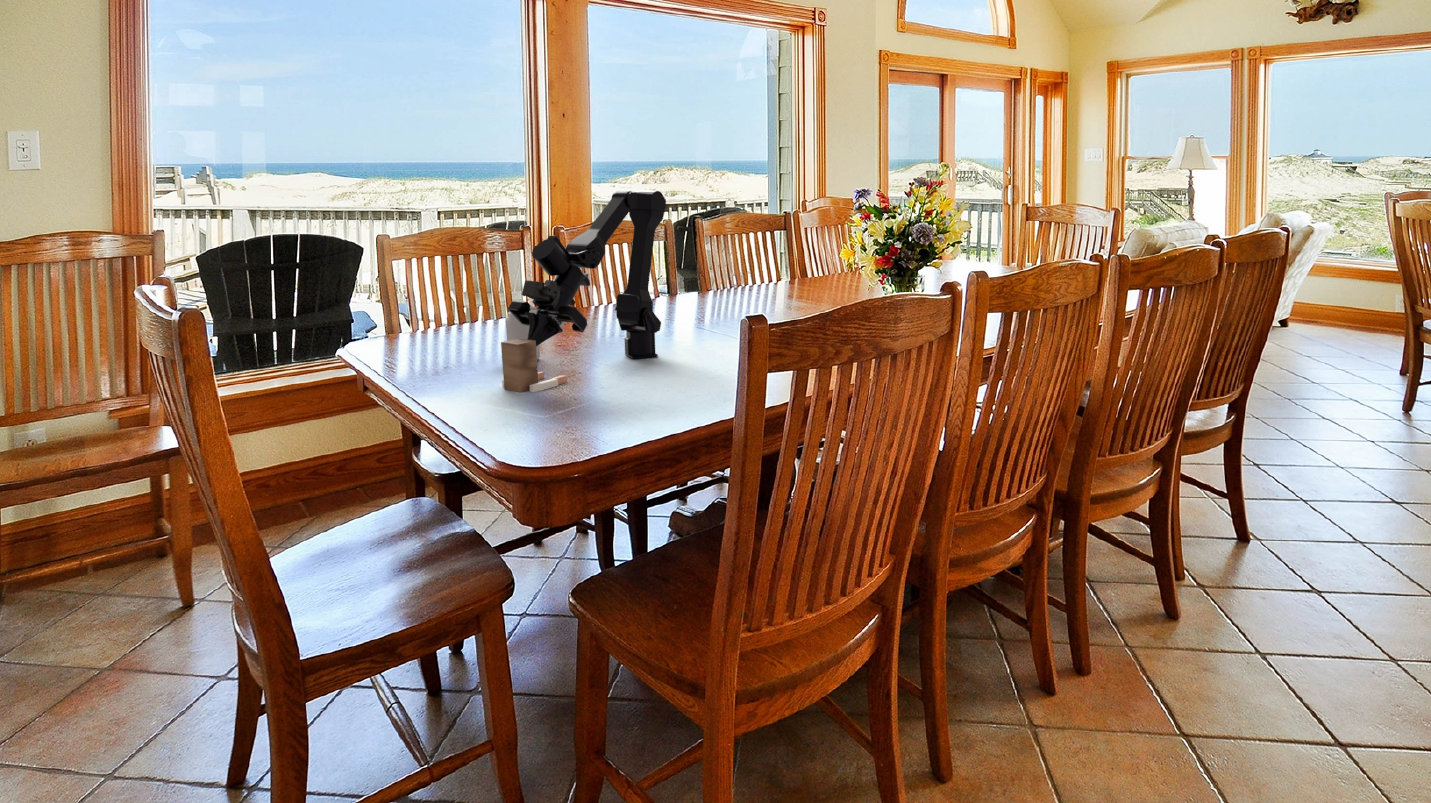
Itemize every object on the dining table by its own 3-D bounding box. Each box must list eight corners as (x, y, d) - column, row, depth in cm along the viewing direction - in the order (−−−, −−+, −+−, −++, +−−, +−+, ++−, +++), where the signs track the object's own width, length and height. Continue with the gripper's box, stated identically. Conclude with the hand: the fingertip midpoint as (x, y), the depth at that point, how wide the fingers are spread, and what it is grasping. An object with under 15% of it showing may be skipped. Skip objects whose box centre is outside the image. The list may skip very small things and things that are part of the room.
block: (521, 384, 204) (518, 338, 202) (538, 387, 202) (535, 340, 199) (504, 389, 200) (500, 342, 198) (521, 392, 198) (517, 344, 195)
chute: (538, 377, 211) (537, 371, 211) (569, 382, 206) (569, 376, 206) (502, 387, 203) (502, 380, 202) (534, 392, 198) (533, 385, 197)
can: (533, 365, 224) (530, 314, 221) (503, 364, 226) (499, 313, 223) (545, 358, 231) (542, 309, 228) (515, 357, 233) (512, 308, 230)
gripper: (511, 263, 206) (475, 321, 200) (575, 268, 196) (539, 329, 190) (539, 295, 215) (506, 351, 209) (602, 301, 204) (569, 361, 198)
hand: (528, 348), depth 201 cm, fingers closed, pressing on block
